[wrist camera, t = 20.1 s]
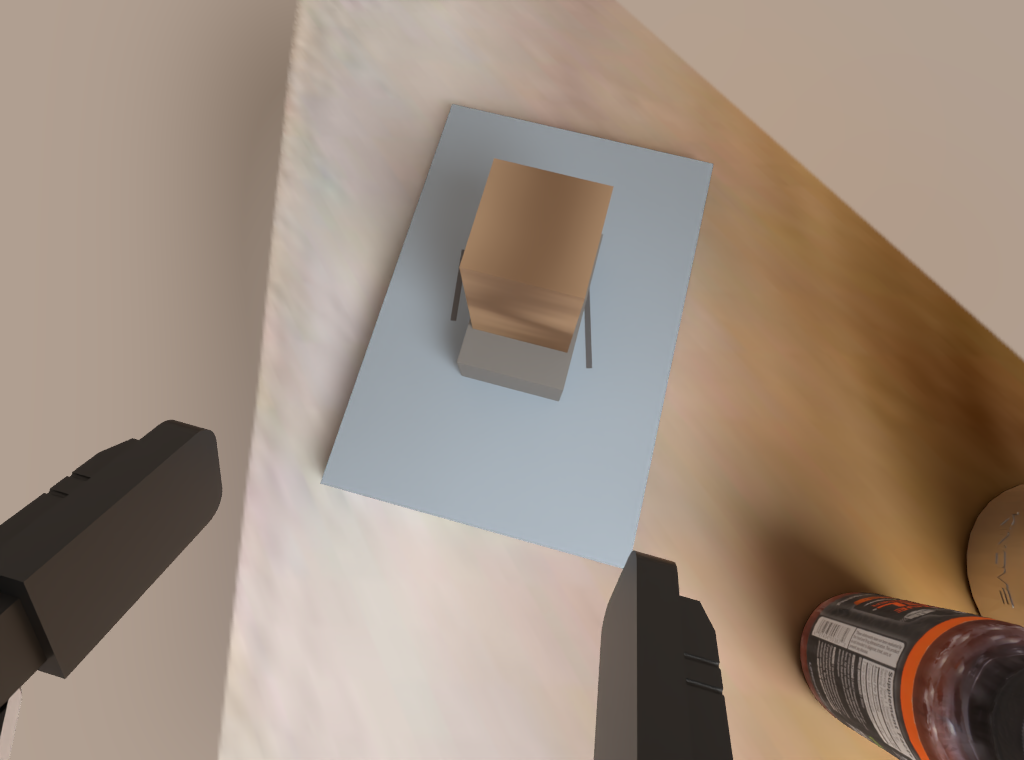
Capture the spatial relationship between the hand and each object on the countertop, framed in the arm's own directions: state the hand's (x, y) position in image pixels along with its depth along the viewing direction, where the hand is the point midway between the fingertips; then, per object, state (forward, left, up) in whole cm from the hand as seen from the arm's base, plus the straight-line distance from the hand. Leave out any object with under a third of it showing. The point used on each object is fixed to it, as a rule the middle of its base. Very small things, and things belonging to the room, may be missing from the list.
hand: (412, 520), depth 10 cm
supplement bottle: (-19, +1, -18) cm, 26 cm away
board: (0, -11, -18) cm, 21 cm away
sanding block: (0, -10, -16) cm, 19 cm away
